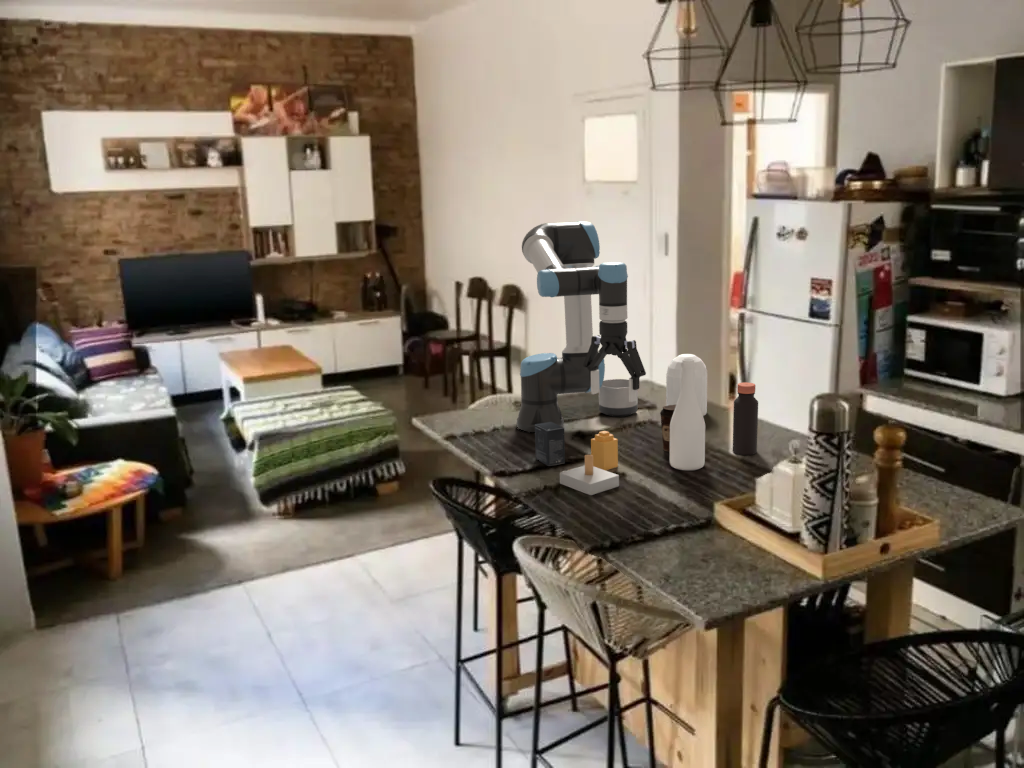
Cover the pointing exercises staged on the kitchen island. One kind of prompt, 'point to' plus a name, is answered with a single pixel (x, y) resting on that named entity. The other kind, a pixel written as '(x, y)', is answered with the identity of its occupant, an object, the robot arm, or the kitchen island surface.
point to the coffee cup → (666, 425)
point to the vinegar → (745, 420)
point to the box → (550, 443)
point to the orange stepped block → (604, 451)
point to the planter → (616, 398)
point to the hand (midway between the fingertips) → (613, 397)
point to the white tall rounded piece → (687, 425)
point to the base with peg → (589, 478)
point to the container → (676, 381)
